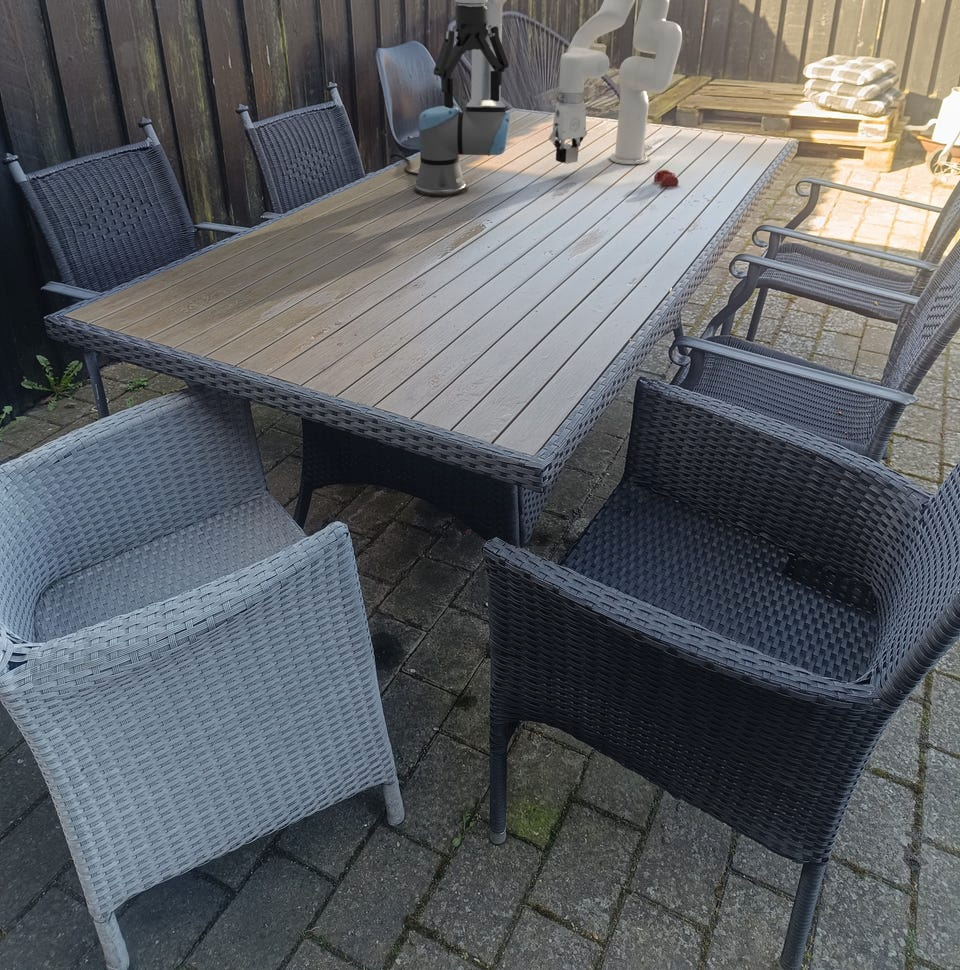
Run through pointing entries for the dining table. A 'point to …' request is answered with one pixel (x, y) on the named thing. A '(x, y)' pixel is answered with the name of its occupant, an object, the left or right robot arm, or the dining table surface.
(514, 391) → the dining table surface
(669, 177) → the red lumpy rounded piece
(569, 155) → the grey square block
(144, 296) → the dining table surface
